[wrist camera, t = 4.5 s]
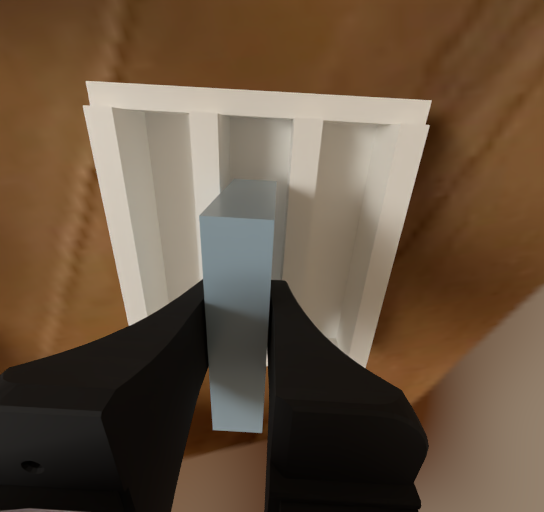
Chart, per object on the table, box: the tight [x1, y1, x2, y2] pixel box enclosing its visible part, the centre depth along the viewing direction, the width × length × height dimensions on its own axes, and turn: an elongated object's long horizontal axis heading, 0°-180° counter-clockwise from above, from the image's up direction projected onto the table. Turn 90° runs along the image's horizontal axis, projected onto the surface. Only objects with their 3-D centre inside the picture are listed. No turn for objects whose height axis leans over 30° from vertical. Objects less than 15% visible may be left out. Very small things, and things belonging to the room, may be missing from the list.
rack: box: [83, 81, 432, 368], centre depth 16 cm, size 16×15×4 cm
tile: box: [199, 179, 277, 433], centre depth 12 cm, size 9×2×6 cm, turn 177°
